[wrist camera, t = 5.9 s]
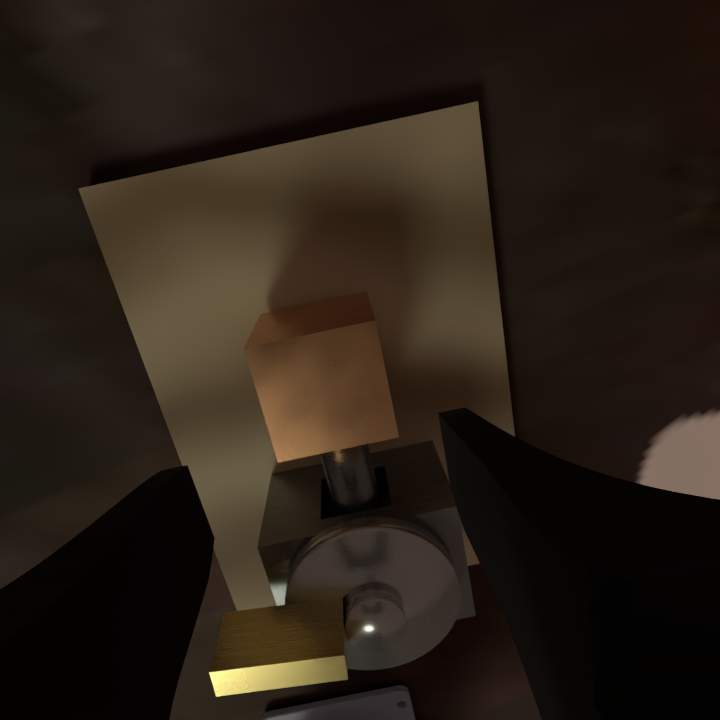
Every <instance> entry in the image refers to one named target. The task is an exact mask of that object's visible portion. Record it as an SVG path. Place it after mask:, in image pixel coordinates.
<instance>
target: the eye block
mask: <svg viewBox="0 0 720 720" xmlns="http://www.w3.org/2000/svg"><path fill="white" fill-rule="evenodd" d="M370 455H371V459H372V464H373V468H374V472H375V477H376V481H377V486H378V490H379V495H380V499H381V504H382V507H380V508H375V509H370V510H365V511H360V512H356V513H351V514H346V515H341V516H336V513H335V509H334V505H333V502H332V498H331V494H330V490H329V487H328V483H327V479H326V475H325V471H324V468H323V464H322V463H321V464H316V465H311V466H307V467H302V468H297V469H292V470H287V471H283V472H278V473H273V474H271V479H270V484H269V489H268V495H267V500H266V505H265V510H264V515H263V520H262V525H261V531H260V536H259V541H258V546H257V548H258V551H259V554H260V557H261V560H262V563H263V566H264V569H265V572H266V575H267V578H268V581H269V584H270V587H271V590H272V593H273V595H274V598H275V601H276V604H277V606H279V605H285V594H286V585H287V578H288V573H289V570H290V568H291V565H292V563H293V561H294V559H295V557H296V556H297V554H298V553H299V552H300V550H301V549H302V548H303V547H304V546H305V545H306V544H307V543H308V542H309V541H310V540H311V539H312V538H313V537H315V536H316V535H318V534H319V533H320V532H322V531H324V530H326V529H327V528H329V527H331V526H334V525H336V524H338V523H341V522H344V521H348V520H351V519H357V518H362V517H389V518H396V519H400V520H404V521H408V522H410V523H413V524H415V525H418V526H420V527H421V528H423V529H425V530H427V531H428V532H429V533H431V534H432V535H433V536H435V537H436V538H437V539H438V540H439V541H440V542H441V543H442V544H443V546H444V547H445V549H446V550H447V551H448V553H449V555H450V557H451V559H452V562H453V565H454V568H455V572H456V575H457V578H458V581H459V584H460V591H461V604H460V609H459V613H458V616H457V618H456V620H458V619H463V618H468V617H473V616H476V614H475V608H474V602H473V596H472V589H471V583H470V577H469V571H468V565H467V559H466V553H465V546H464V540H463V534H462V528H461V522H460V517H459V514H458V511H457V508H456V504H455V501H454V498H453V495H452V492H451V488H450V484H449V482H448V479H447V477H446V474H445V472H444V469H443V466H442V464H441V461H440V459H439V456H438V453H437V451H436V448H435V446H434V443H433V441H427V442H422V443H417V444H413V445H408V446H403V447H398V448H393V449H388V450H384V451H379V452H374V453H370Z"/></svg>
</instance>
